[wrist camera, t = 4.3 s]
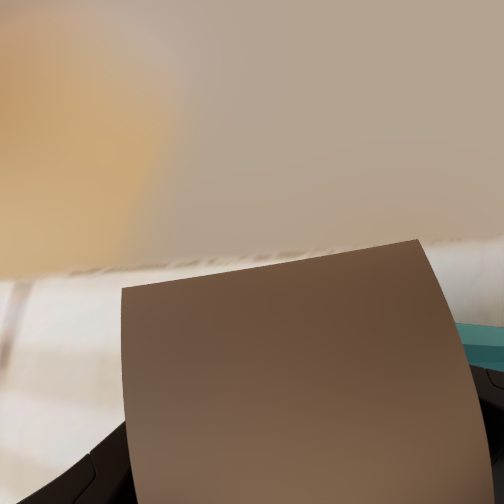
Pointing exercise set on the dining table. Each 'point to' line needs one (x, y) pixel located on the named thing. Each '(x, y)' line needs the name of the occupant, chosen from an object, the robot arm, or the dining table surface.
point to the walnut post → (302, 386)
